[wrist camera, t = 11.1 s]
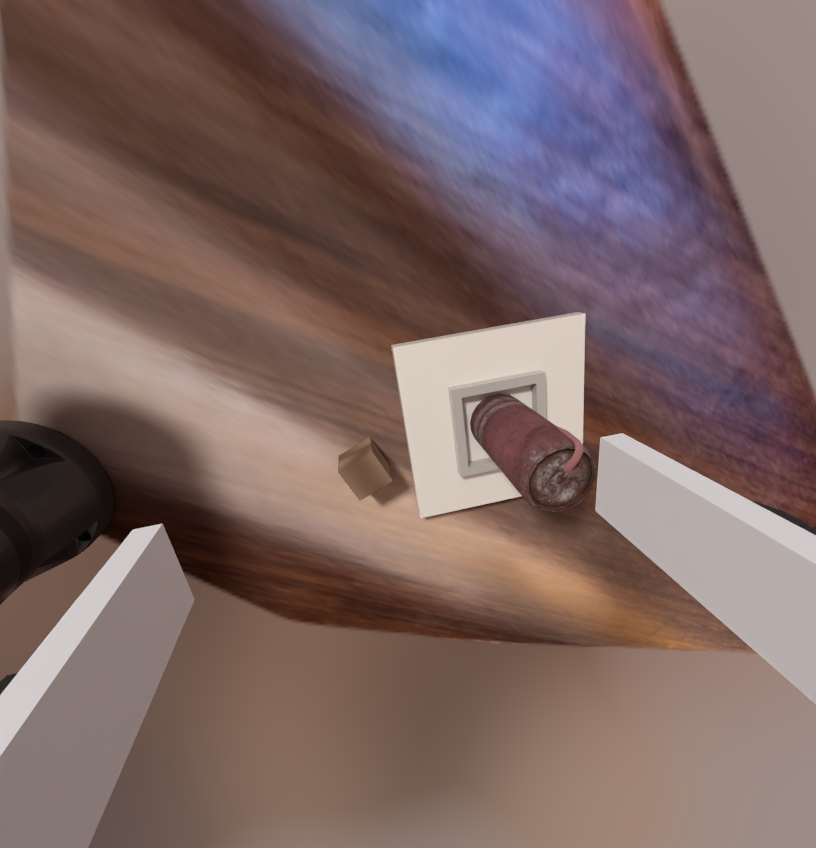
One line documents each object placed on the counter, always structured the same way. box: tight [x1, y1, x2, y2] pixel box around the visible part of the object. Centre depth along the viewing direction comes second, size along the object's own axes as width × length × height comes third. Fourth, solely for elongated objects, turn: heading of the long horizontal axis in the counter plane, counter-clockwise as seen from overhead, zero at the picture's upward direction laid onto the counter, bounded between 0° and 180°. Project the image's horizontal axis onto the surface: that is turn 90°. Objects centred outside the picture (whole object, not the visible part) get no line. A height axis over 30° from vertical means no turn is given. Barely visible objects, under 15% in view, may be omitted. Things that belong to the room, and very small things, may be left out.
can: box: [470, 394, 596, 512], centre depth 35 cm, size 6×6×14 cm
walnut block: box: [338, 437, 393, 500], centre depth 41 cm, size 4×4×4 cm
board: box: [391, 312, 585, 518], centre depth 42 cm, size 20×20×3 cm
